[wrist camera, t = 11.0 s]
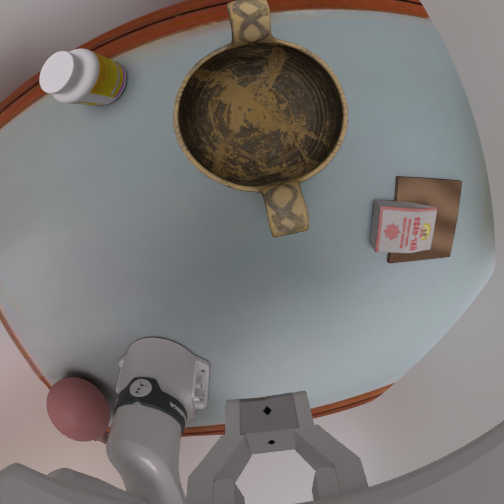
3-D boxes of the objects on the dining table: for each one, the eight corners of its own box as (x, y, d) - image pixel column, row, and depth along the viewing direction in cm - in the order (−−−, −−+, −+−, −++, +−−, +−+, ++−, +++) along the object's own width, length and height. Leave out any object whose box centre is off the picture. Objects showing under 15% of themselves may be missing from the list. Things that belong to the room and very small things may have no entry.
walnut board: (447, 254, 43) (449, 256, 43) (386, 261, 43) (389, 263, 42) (459, 180, 38) (461, 181, 37) (396, 176, 37) (398, 177, 37)
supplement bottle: (121, 54, 28) (75, 30, 17) (133, 92, 31) (88, 79, 19) (82, 76, 29) (28, 65, 17) (93, 114, 32) (39, 114, 20)
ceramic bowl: (330, 189, 38) (377, 224, 24) (208, 210, 38) (192, 258, 25) (303, 35, 29) (340, -11, 15) (176, 54, 29) (140, 16, 16)
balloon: (92, 413, 59) (77, 457, 45) (50, 363, 51) (25, 409, 37) (137, 415, 58) (125, 465, 44) (94, 362, 50) (70, 417, 36)
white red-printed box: (374, 199, 39) (431, 204, 37) (369, 241, 41) (425, 244, 40) (380, 206, 35) (441, 211, 34) (375, 251, 38) (433, 253, 37)
